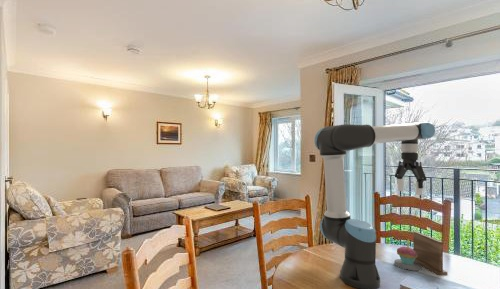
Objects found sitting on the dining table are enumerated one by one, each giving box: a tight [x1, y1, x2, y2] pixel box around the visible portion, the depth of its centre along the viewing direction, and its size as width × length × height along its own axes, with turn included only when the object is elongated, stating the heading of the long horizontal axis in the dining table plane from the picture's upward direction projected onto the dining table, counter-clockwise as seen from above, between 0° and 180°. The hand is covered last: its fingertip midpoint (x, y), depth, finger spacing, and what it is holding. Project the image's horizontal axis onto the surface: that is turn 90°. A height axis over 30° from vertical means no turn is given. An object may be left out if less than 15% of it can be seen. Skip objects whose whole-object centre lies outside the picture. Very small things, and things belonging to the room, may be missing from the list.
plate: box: [394, 258, 423, 272], centre depth 122 cm, size 11×11×1 cm
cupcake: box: [396, 238, 418, 265], centre depth 123 cm, size 9×8×12 cm
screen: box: [412, 231, 448, 276], centre depth 122 cm, size 5×17×14 cm, turn 6°
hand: (409, 192), depth 135 cm, fingers open, 13 cm apart
